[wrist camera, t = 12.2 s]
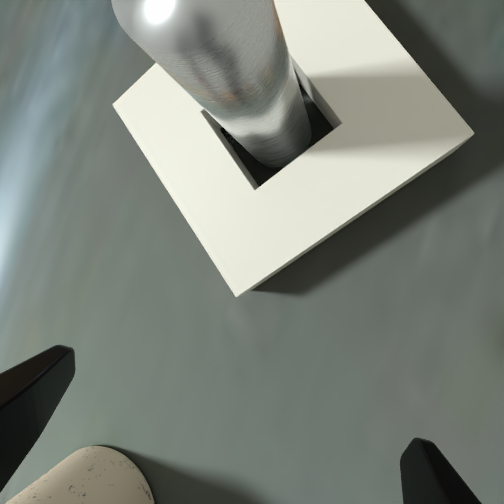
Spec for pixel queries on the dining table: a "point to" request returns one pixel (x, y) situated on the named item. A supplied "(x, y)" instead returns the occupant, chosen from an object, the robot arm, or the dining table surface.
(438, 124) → the bore plate
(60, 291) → the dining table surface
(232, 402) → the dining table surface
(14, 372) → the robot arm
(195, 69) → the metal peg
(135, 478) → the teacup with lid
